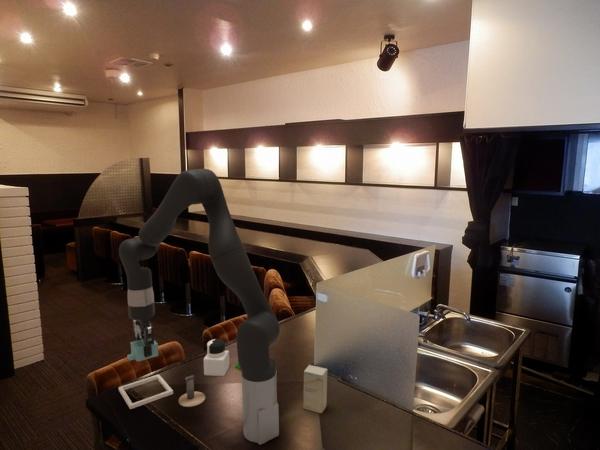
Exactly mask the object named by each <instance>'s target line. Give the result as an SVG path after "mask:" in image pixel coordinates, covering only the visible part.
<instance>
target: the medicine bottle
mask: <svg viewBox="0 0 600 450" xmlns="http://www.w3.org/2000/svg"><path fill="white" fill-rule="evenodd" d="M225 345H226V341H224V340H223V339H222V338H221V339H220V338H214V339H211V340H209V341H208V342H207V343H206V348H207V351H206V352H207V354H205V356H204V358H203V359H202V360H203V375H204V376H212V377H213V376H215V377H218V376H219V377H224V376H225V375H226V373H227V372H228V370H229V368H230V351H229V350H226V346H225Z"/></svg>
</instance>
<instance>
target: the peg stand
mask: <svg viewBox="0 0 600 450" xmlns="http://www.w3.org/2000/svg"><path fill="white" fill-rule="evenodd" d="M194 379H195V375H194V374H192V375H189V376H186V377H185V378H184V380H185V383H186V393H184V394H182V395H181V396H180V397H179V399H178V404H179V405H180V406H182V407H187V408H191V407H195V406H198V405H200V404H202V403H203V402H204V401H205V399H206V395H205V394H204V393H203V392H201V391H195V383H194Z"/></svg>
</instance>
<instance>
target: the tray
mask: <svg viewBox="0 0 600 450" xmlns="http://www.w3.org/2000/svg"><path fill="white" fill-rule="evenodd" d="M155 380H156V381H158V382H159V384H161V386H162V387H163V389H165V391H163V392H160V393H157V394H154V395H153V396H149V397H145V398H144V399H141V400H138V401H135V402H132V400H131V399H130V397H129V396H128V395H129V394H127V392H126V391H125V390H130V389H132V388H135V387H138V386H141V385H144V384H147V383H150V382H153V381H155ZM118 392H119V393H120V395H121V396H122V398H123V399H124V401H125V403H126V405H127V407H128V408H129V409H130V410H132V409H136V408H137V407H141V406H143V405H146V404H149V403H151V402H154V401H157V400H159V399H162V398H165V397H168V396H171V395H174V390H173V389H172V387H171V386H169V384H168V383H167V381H166V380H165V379H164V378H163V377H162V376H161V375H160V374H156V375H152V376H149V377H146V378H142V379H139V380H137V381H134V382H131V383H127V384H124V385H121V386H118Z"/></svg>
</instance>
